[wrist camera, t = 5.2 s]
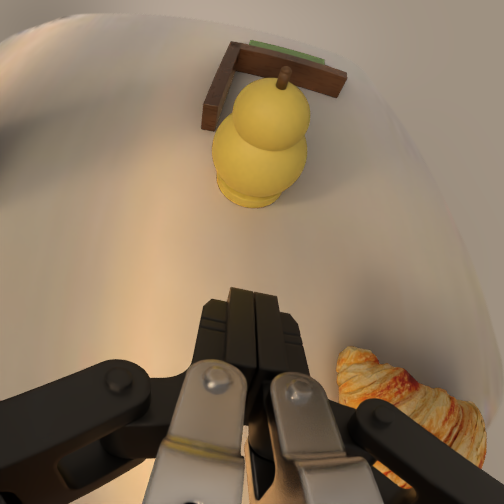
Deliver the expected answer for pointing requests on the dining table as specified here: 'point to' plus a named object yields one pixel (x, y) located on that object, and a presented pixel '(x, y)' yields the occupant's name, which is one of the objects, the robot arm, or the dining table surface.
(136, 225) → the dining table surface
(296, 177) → the pear
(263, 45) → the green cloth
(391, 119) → the dining table surface
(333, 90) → the corner fence
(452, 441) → the croissant
